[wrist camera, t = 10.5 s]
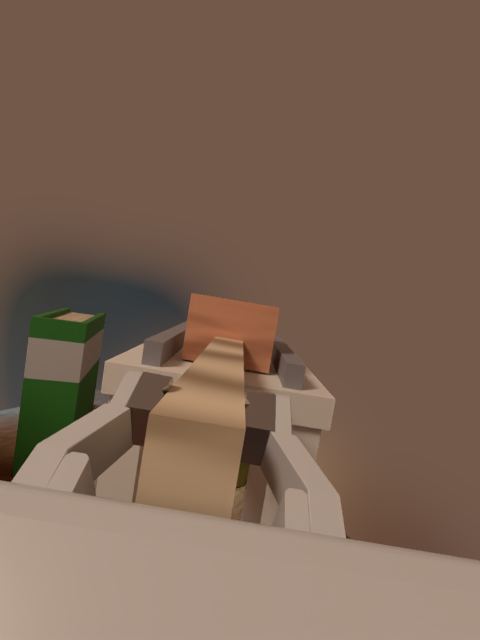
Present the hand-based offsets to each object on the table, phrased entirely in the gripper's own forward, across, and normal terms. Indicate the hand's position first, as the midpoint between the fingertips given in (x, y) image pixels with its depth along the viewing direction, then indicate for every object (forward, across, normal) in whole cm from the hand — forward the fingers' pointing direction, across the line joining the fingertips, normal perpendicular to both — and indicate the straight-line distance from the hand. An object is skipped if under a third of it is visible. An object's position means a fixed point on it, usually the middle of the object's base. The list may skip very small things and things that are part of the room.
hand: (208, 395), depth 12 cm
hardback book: (+26, -27, -48) cm, 60 cm away
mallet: (+8, 0, -8) cm, 12 cm away
